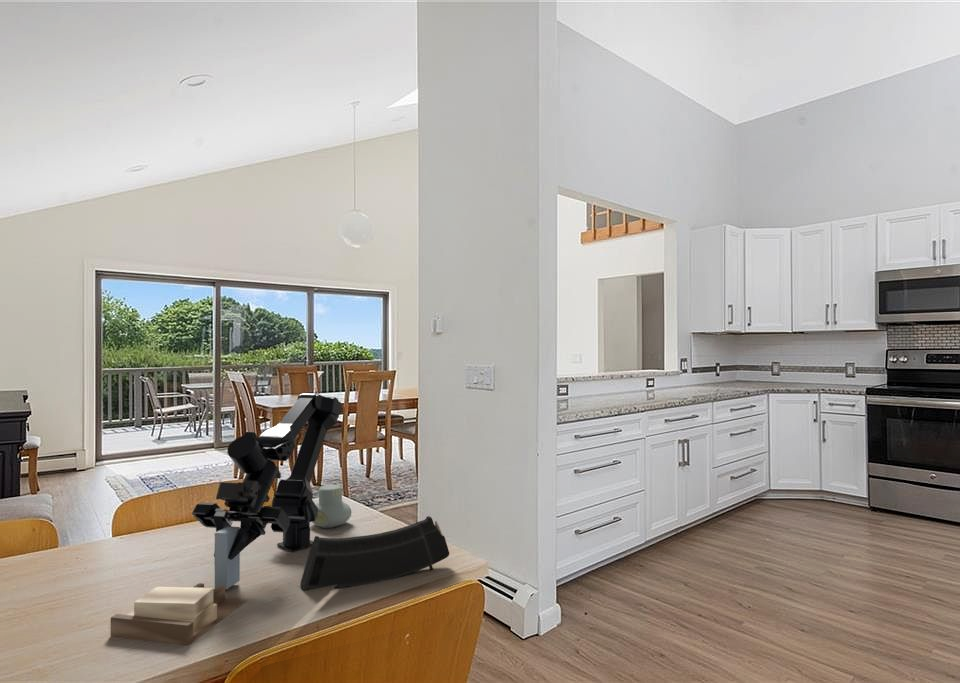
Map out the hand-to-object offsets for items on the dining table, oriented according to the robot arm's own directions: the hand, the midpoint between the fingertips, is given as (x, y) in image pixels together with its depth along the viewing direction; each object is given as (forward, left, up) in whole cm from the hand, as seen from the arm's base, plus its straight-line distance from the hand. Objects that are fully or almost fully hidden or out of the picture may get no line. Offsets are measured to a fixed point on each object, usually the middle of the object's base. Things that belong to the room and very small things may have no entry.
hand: (222, 558), depth 109 cm
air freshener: (-20, +40, -7) cm, 45 cm away
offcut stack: (+6, -12, -6) cm, 15 cm away
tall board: (-1, +1, -6) cm, 6 cm away
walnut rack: (+5, -9, -7) cm, 13 cm away
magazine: (+17, +24, -7) cm, 30 cm away
